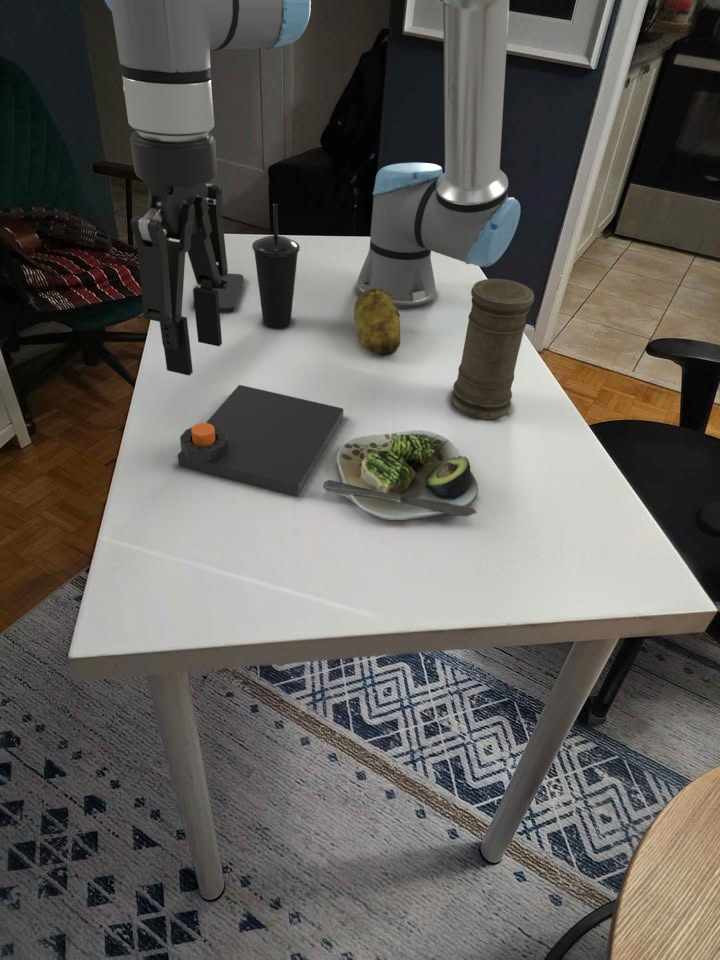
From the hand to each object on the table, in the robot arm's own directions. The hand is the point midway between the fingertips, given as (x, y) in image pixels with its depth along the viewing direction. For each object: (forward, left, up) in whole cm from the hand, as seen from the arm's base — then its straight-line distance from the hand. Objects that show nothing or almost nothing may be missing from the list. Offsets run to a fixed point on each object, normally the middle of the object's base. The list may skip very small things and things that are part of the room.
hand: (195, 356), depth 73 cm
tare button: (0, 0, -12) cm, 12 cm away
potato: (-40, +12, -15) cm, 44 cm away
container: (-28, +32, -15) cm, 44 cm away
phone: (-46, -21, -15) cm, 52 cm away
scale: (-7, +6, -15) cm, 17 cm away
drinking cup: (-40, -6, -15) cm, 43 cm away
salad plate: (-6, +26, -15) cm, 30 cm away
